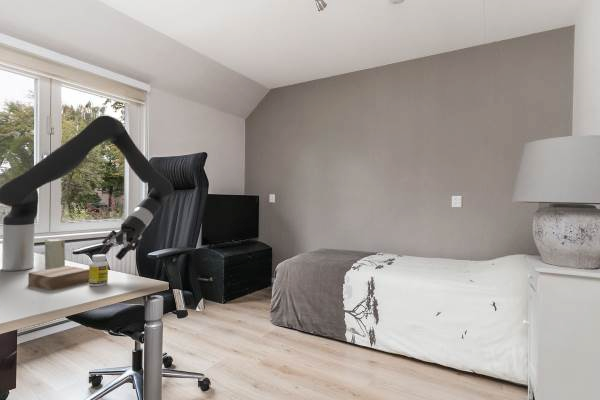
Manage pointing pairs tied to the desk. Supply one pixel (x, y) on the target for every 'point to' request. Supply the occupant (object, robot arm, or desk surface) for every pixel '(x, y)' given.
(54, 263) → the skincare box
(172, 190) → the robot arm
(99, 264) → the supplement bottle
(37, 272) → the walnut plinth
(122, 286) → the desk surface
